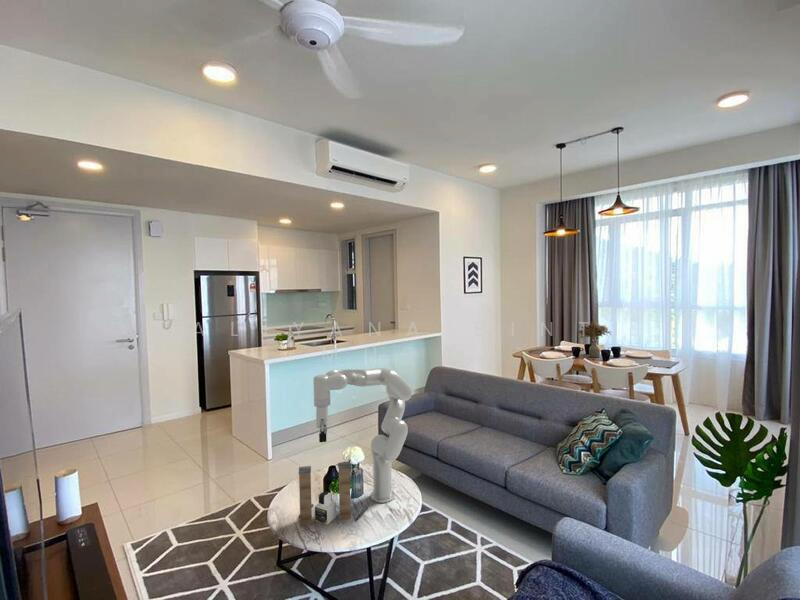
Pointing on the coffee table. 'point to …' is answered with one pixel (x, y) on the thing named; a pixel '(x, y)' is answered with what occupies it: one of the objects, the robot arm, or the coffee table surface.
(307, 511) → the post
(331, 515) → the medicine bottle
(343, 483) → the post
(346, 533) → the coffee table surface
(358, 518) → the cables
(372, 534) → the coffee table surface
